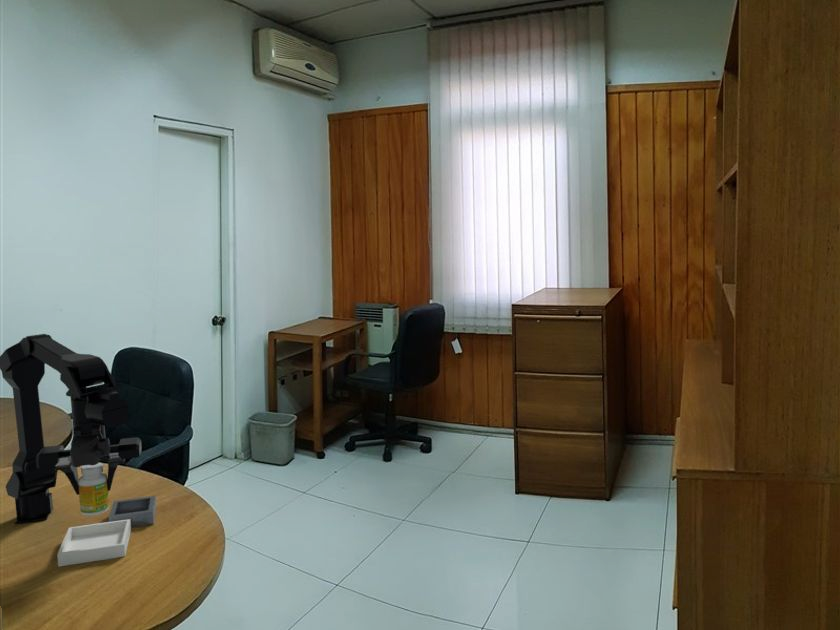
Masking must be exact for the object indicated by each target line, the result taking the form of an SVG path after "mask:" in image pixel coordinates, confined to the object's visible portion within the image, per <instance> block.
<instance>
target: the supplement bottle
mask: <svg viewBox="0 0 840 630" xmlns="http://www.w3.org/2000/svg"><path fill="white" fill-rule="evenodd" d="M80 470H81V471H80V473H81V476H80V477H79V481H78V486H79V495H78V497H79V507H80V508H79V509H80V513H81V515H83V516H87V517H88V516H97V515H102V514H104V513H105V512H107V511H108V510H109V509H110V497H109V496H110V495H109V492H110V491H108V487H107V480H108V474H106V473H105V472H104V465H103V463H102V462H99V463H98V464H96V465H92V466H91V465H85V466H80Z"/></svg>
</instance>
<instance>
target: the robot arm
mask: <svg viewBox="0 0 840 630" xmlns="http://www.w3.org/2000/svg"><path fill="white" fill-rule="evenodd" d="M45 365H47V366H49V367H50V368H52V369H53V370H55V371H56V372H58V373H59V374H60V375H59V376H60V377H59V379H60V382H62V383H63V385H65V387H66V388H67V391H66V392H65V396H66V397H70V406H71V419H72V420H71V422H72V438H71V442H70V449H69V448H68V449H64V445H63V444H61V445H60V444H59V445H58V444H57V445H49V446H45V442H44V433H43V431H44V430H43V423H42V422H43V421H42V413H41V411H42V410H41V405H40V404H41V402H40V395H39V394H40V393H39V384H40V383H41V382H42V379H43V378H44V376H45V374H46V369H45V368H46V366H45ZM0 371H1V376H2V379H3V380H4V381H5V382H6V383H7V384H8V385H9V386H10V387H11V389H12V396H13V403H14V404H13V405H14V410H15V411H14V414H15V422H16V430H17V432H16V433H17V441H18V449H19V451H18V453H17V455H16V456H15V458H14V461H13V462H12V473H11V476H10V478H9V479H8V481H7V482H6V485H5V490H6V494H7V496H8V497H11V498H13V499H14V503H15V513H16V519H15V520H14V524H15V525H17V524H23V523H24V524H25V523H31V522H37V521H45V520H48V518H49V516H50V514H52V512H53V510H54V505H53V504H54V503H53V502H54V501H53V500H54V499H53V493H52V492H50V489H52V488H55V487H56V485H57V478H58V477H57V476H58V471H60V472H62V473H63V474H64V475H65V476H66V477H67V479H68V480H69V482H70V484H71V487H72V488H73V490H74V491H75V493H76V495H78V496H79V486H78V481H79V478H80V477H79V471H78V468H81V467H82V466H85V465H91V466H92V465H96V464H98V463H100V459H101V458H104V457H108V456H109V458H108V462H107V467H108V469H107V478H108V480H107V487H108V492H110V491H111V488H112V484H113V482H114V477H115V475H116V471H117V468H118V466H119V465H120V464H122V463H123V464H124V462H125V460H128V459H136V458H140V456H141V453H142V448H143V447H142V440H141V439H140V438H139V437H138V436H137V437H127V438H120V441H119V443H118V444H111V442H110V438H109V437H106V427H109V428H112V429H115V428H119V427H121V426H123V425H124V424H125V423H127V422H126V421H127V420H128V419H129V416H130V414H131V409H130V406H129V404H128V402H127V401H126V400H124V399H123V398H120V394H119V392H118V391H116V390H118V388H117V385H116V382H117V381H116V379H115V378H114V376H113V375H112V373H111V372H110V369H109V367H108V366H107V364H106V362H104V360H103V359H102V358H101V357H100V356H97V355H93V354H90V353H89V354H88V353H87V354H86V353H77V352H75V351H74V350H72V349H71V348H68V347H67V346H65V345H63V344H61V343H60V342H58V341H56V340H55V339H53V338H52V336H51V335H50V334H47V333H42V334H41V333H40V334H32V335H27V336H25V337H23V338H21V340H19V342H17V343H15V344H13V345H11V346H10V347H8V348H6V349H5V350H4V351H3V353H2V354H1V355H0Z"/></svg>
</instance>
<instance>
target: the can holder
mask: <svg viewBox="0 0 840 630" xmlns="http://www.w3.org/2000/svg"><path fill="white" fill-rule="evenodd" d="M156 511H157V500H156V495H153V496H152V495H150V496H145V497H144V496H143V497H142V496H141V497H135V498H128V499H120V500H113V503H112V506H111V509H110V512H109V516H108V522H113V521H120V520H127V519H130V521H131V528H136V527H142V526H143V527H144V526H149V525H151V526H152V525H154V524H155V518H156Z"/></svg>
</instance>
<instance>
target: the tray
mask: <svg viewBox="0 0 840 630" xmlns="http://www.w3.org/2000/svg"><path fill="white" fill-rule="evenodd" d="M131 532H132V527H131V521H130V519H127V520H120V521H113V522H109V521H107V522H99V523H92V524H85V525H78V526H71V527H70V526H69V527H68V528H67V532H66V534H65V536H64V538H63V541H62V543H61V545H60V546H59V550H58V552H57V556H56V557H57V565H58V566H57V567H58V568H59V567H65V566H71V565H78V564H84V563H91V562H97V561H105V560H111V559H117V558H124V557H126V554H127V549H128V546H129V541H130V537H131Z"/></svg>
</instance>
